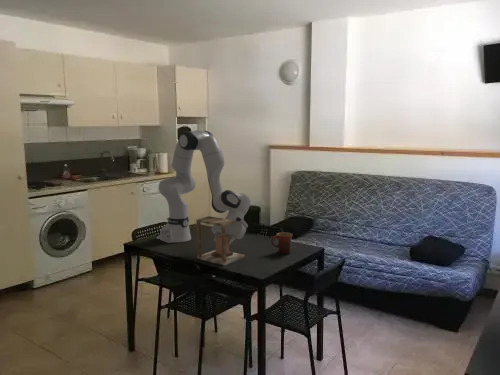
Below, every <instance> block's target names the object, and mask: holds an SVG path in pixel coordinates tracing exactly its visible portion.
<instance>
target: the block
mask: <svg viewBox="0 0 500 375" xmlns="http://www.w3.org/2000/svg"><path fill="white" fill-rule="evenodd" d="M214 238H216V241H215V250H216V253H217V254H221V255H222V235H219V236H218V237H215V236H214ZM228 240H230V237H229V236H226V254H227V253H229V252H230V244H228V243H227V241H228Z"/></svg>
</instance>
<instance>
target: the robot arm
mask: <svg viewBox="0 0 500 375" xmlns="http://www.w3.org/2000/svg"><path fill="white" fill-rule="evenodd" d="M195 151H200V153H201V156H202V159H203V163H204V167H205V169H206V175H207V180H208V181H207V182H208V186H209V189H210V194H211V207H212V210H214V212H217V213H219V214H224V213H226V212H227V211H228V213H227V215H226V216H225V218H224V219H228V220H234V221H236V223H234V224H231V225H228V226H225V229H226V236H229V240H228V241H227V243H228V244H229V245H232V243H233V242H234V241H235V240H236V239H239V240H241V239H243V238H244V236H245V234H246V233H247V232H246V231H247V229H248V227H249V225H248V223H247V222H246V221H245V220H244V219H245V218H244V217H245V215H246V214H247V212H248V211H249V208H250V206H251V198H250V197H249V196H248V195H247V194H246V193H237V192H234V191H232V190H229V189H225V190H223V189H222V185H221V181H220V179H221V178H220V177H221V173H222V170H223V168H224V167H225V157H224V155H223V151H222V149H221V146H220V144H219V142H218V140H217V139H216V137H215V136H214V135H213V133H212V132H210V131H208V130H191V131H189V130H187V131H186V130H185V131H183V132H182V133H180V134H179V136H178V140H177V142H176V145H175V148H174V152H173V156H172V162H171V167H172V169H173V170H174V171H175V176H173V177H167V178H165V179H162V180H160V181H159V184H158V191H159V193H160V195H162V196H163V197H164V198H165V200H166V202H167V204H168V213H169V215H168V216H169V217H166V221H167V223H166V224H165V225H164V226H162V227H161V229H160V231H159V232H160V235H157V236H156V240H159V239H160V240H159V241H162V242H165V243H167V244H171V243H172V244H173V243H185V242H189V241H191V240H192V234H191V231H190V225H189V220H190V219H189V215H188V203H187V202H185V201H183V198H182V195H184V194H188V193H190V192H192V191H194V190H195V188H196V181H195V178H194V177H193V176H192V172H191V171H192V170H191V167H192V162H193V157H194V153H195ZM210 230H211V232H212V233H213V234H214V237H213V241H214V242H216V238H215V237H218V236H221V235H222V228H221V226H217V225H212V227H211V229H210Z"/></svg>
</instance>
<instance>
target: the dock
mask: <svg viewBox="0 0 500 375" xmlns="http://www.w3.org/2000/svg"><path fill="white" fill-rule="evenodd" d="M195 221H196V239H197V242H196V243H197V244H196V245H197V258H196V259H198V260H201V261H206V262H209V263H213V264H217V265H221V266H227V265H229V264H231V263H234V262H237V261H239V260H241V259H244V258H245V257H246V254H241V253H238V252H234V251H229V253H227V254H226V229H225V226H228V225H231V224H234V223H236V221H234V220H228V219H225V218H221V217H215V216H209V215H208V216H204V217H200V218H197V219H196V218H195ZM201 224H205V225H212V226H214V225H217V226H221V228H222V255H221V254H217V253H216V249H215V250H214V249H213V250H211V251H209V252H206V253H203V254H202V231H201V230H202V229H201V228H202V227H201Z"/></svg>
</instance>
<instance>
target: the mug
mask: <svg viewBox="0 0 500 375" xmlns="http://www.w3.org/2000/svg"><path fill="white" fill-rule="evenodd" d="M274 238H276V239H277V244H274V240H273V239H274ZM292 238H293V233H291V232H286V231H285V232H284V231H283V232H277V233H276V235H273V236H271V237H270V244H271V245H272V247H275V248H277V251H278V252H277V253H279V254H280V255H281V254H282V255H288V254H290V253H291V252H292Z"/></svg>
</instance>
